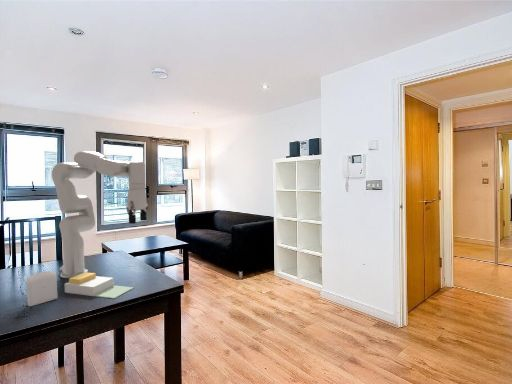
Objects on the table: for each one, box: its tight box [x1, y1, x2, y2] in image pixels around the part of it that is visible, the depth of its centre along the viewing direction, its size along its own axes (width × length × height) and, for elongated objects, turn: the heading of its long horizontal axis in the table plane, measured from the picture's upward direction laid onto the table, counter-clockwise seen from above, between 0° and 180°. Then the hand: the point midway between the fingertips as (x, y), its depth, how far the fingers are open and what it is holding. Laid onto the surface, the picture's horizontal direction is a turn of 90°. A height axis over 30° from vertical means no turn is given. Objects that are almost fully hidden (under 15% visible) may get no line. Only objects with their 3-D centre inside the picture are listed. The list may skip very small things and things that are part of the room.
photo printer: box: [26, 270, 59, 307], centre depth 119 cm, size 10×4×12 cm, turn 140°
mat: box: [93, 284, 134, 300], centre depth 129 cm, size 11×12×1 cm
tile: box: [68, 271, 97, 284], centre depth 133 cm, size 6×9×2 cm, turn 164°
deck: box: [64, 275, 115, 297], centre depth 133 cm, size 16×12×4 cm
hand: (138, 221), depth 140 cm, fingers open, 9 cm apart
